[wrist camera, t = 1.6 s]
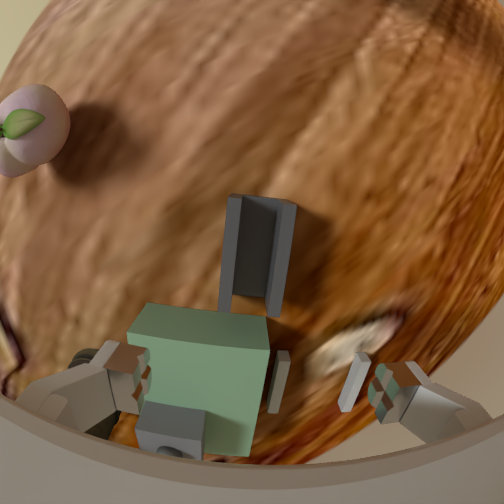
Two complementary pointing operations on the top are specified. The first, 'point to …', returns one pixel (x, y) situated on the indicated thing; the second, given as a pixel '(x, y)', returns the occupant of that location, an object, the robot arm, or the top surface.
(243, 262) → the chute
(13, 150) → the decorative fruit
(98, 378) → the robot arm
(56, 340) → the top surface
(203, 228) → the top surface
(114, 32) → the top surface
